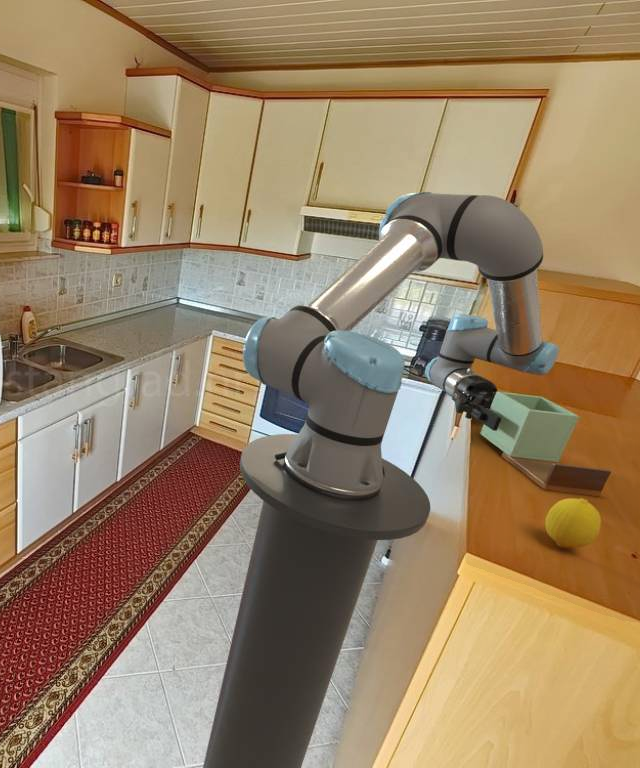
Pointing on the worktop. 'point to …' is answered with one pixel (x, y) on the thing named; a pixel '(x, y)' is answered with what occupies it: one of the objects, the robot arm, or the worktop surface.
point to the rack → (561, 475)
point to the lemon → (573, 523)
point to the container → (530, 426)
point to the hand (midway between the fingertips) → (533, 428)
